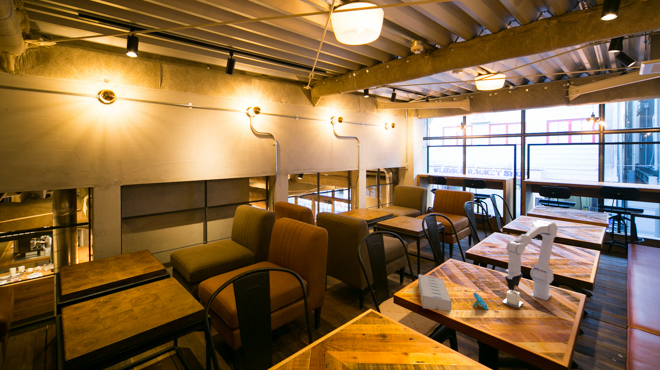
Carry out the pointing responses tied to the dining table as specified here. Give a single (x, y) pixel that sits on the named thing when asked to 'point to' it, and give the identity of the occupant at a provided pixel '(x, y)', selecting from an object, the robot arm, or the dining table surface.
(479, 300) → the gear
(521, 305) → the shaft block
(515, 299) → the square tube cup
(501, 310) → the dining table surface
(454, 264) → the dining table surface
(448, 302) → the warehouse
